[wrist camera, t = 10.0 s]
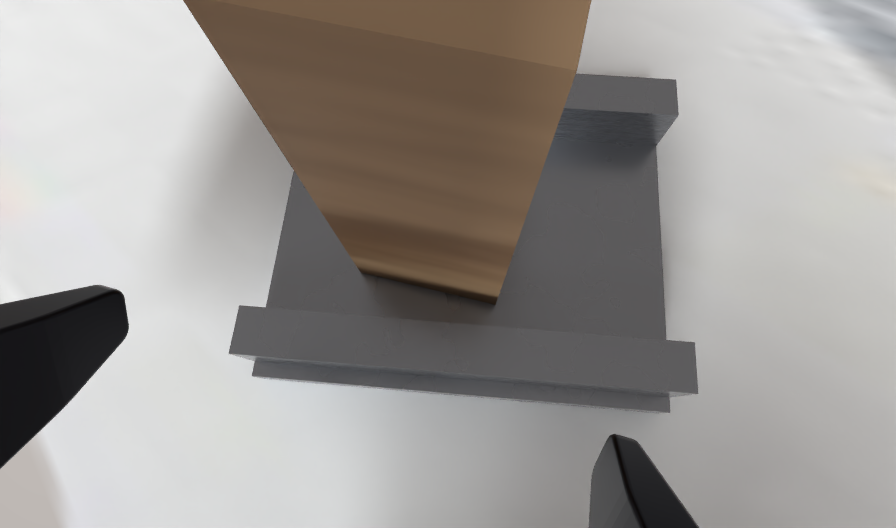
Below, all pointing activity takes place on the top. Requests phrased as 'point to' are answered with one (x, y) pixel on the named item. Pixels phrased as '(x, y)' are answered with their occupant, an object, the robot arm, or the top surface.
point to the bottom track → (504, 284)
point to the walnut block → (410, 119)
